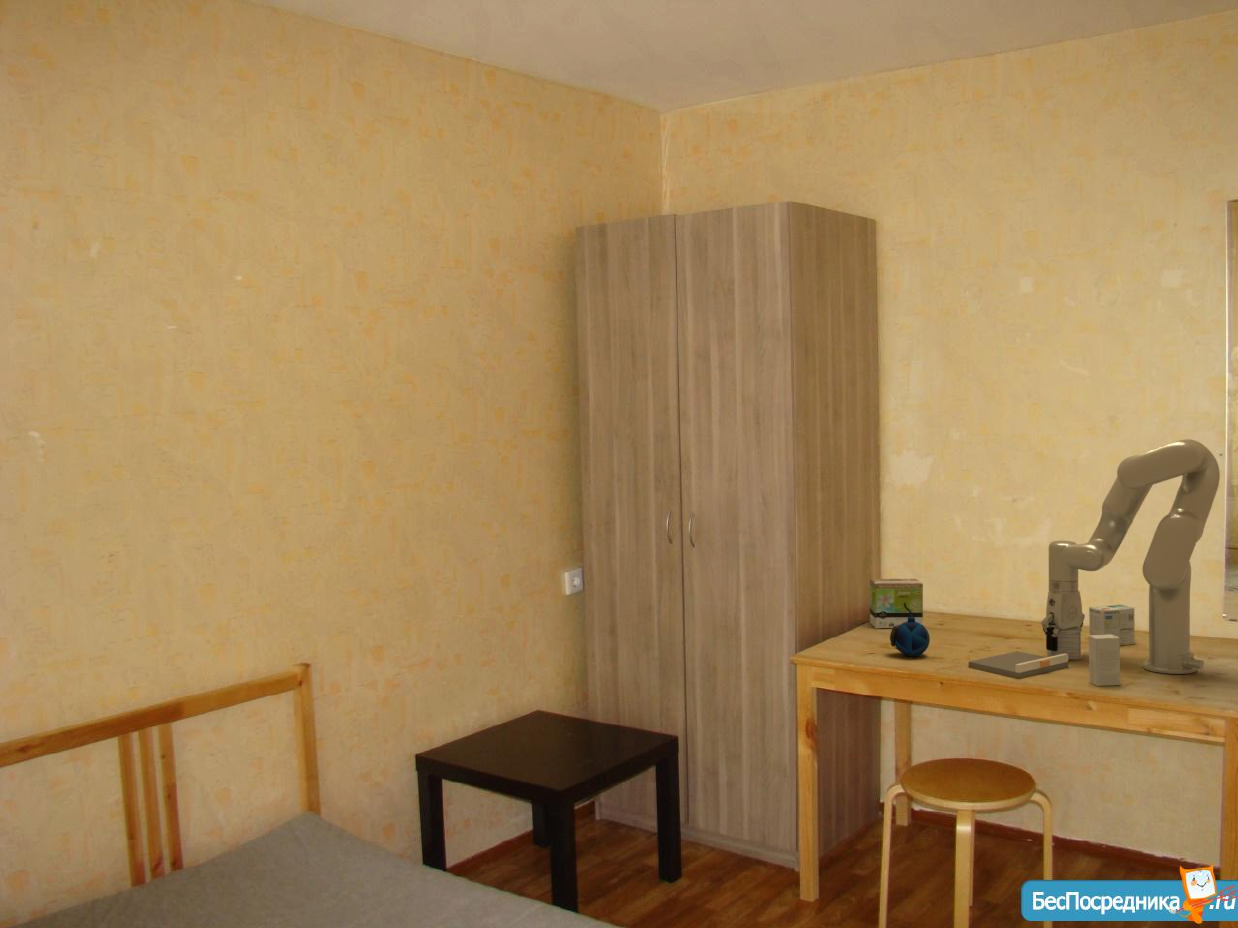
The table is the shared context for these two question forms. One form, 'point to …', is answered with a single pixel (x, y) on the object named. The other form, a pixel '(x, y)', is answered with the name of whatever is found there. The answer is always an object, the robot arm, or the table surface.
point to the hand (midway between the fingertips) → (1063, 648)
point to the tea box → (895, 601)
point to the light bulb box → (1113, 622)
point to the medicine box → (1068, 643)
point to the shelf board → (1020, 664)
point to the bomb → (910, 637)
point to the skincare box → (1104, 660)
